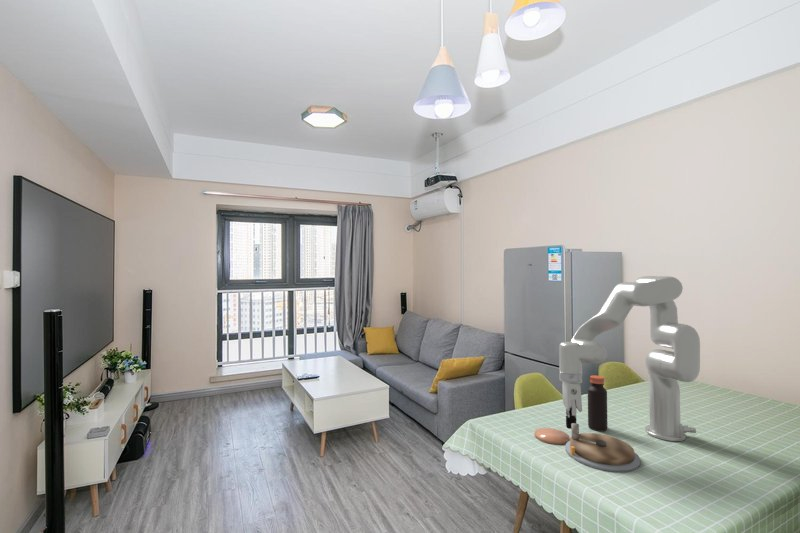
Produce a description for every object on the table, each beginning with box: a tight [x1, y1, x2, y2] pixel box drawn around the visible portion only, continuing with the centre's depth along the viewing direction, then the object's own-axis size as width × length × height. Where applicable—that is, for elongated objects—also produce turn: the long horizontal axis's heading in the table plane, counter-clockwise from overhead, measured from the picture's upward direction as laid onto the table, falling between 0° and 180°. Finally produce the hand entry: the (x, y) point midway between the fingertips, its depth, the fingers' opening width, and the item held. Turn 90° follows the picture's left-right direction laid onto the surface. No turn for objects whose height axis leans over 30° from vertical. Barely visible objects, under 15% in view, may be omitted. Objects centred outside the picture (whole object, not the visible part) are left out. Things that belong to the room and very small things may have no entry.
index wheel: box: [569, 422, 635, 465], centre depth 127 cm, size 19×19×7 cm
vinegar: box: [587, 375, 608, 432], centre depth 150 cm, size 7×7×20 cm
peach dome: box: [534, 427, 570, 445], centre depth 141 cm, size 12×12×1 cm
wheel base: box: [565, 440, 641, 473], centre depth 127 cm, size 22×22×3 cm
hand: (571, 427), depth 137 cm, fingers closed
